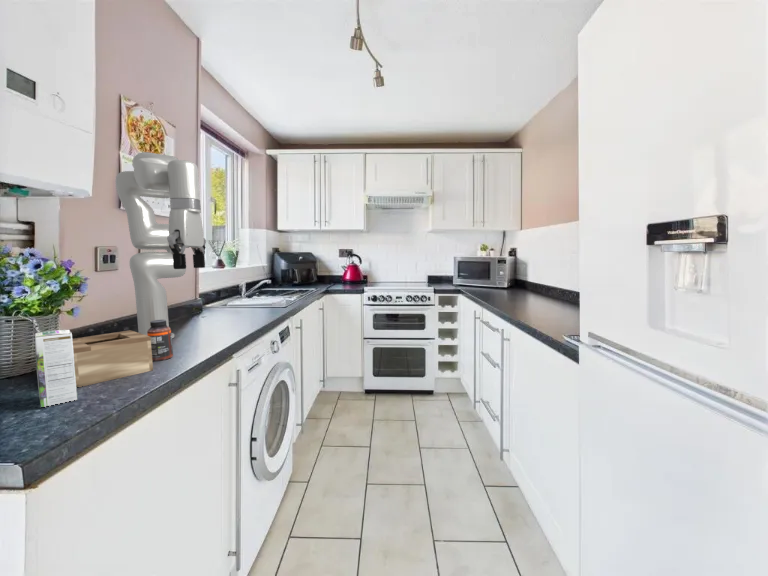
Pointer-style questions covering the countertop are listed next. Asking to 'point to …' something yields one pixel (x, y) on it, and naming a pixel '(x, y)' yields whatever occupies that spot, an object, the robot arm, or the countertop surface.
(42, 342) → the syrup box
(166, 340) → the supplement bottle
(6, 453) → the countertop surface
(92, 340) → the drop box
